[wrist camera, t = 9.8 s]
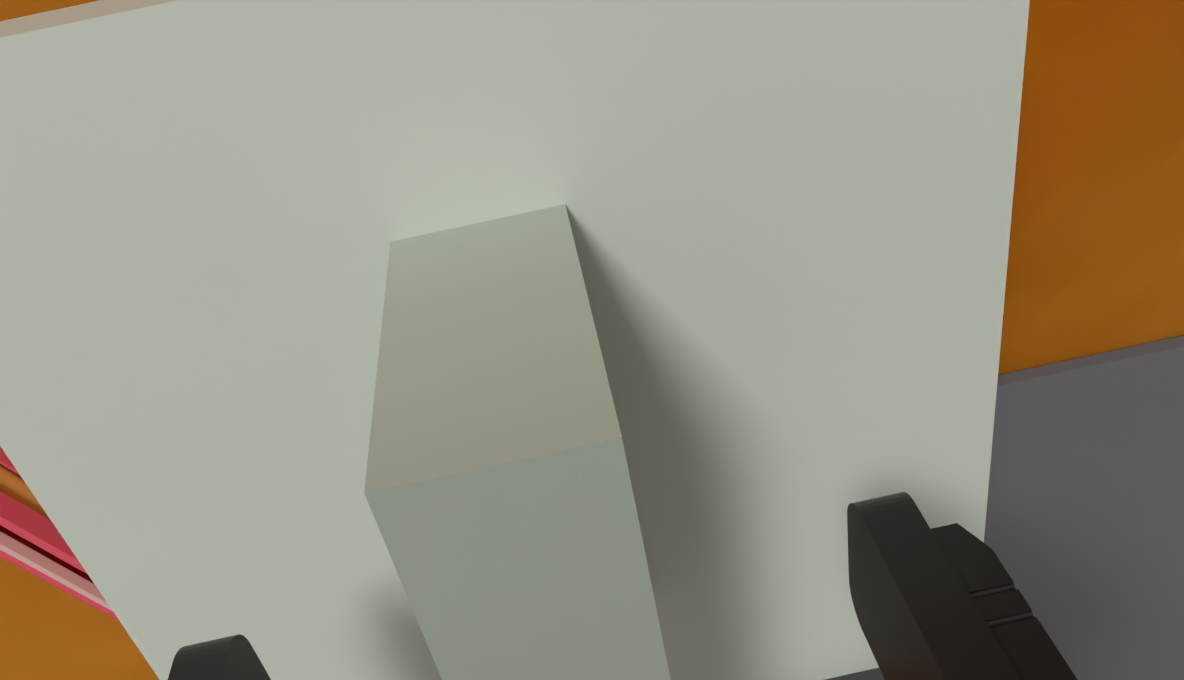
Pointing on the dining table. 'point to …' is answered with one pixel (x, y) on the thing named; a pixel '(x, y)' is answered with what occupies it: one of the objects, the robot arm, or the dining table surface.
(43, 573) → the red piece
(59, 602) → the dining table surface
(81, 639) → the dining table surface
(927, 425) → the cover
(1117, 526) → the mat
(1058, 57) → the dining table surface
